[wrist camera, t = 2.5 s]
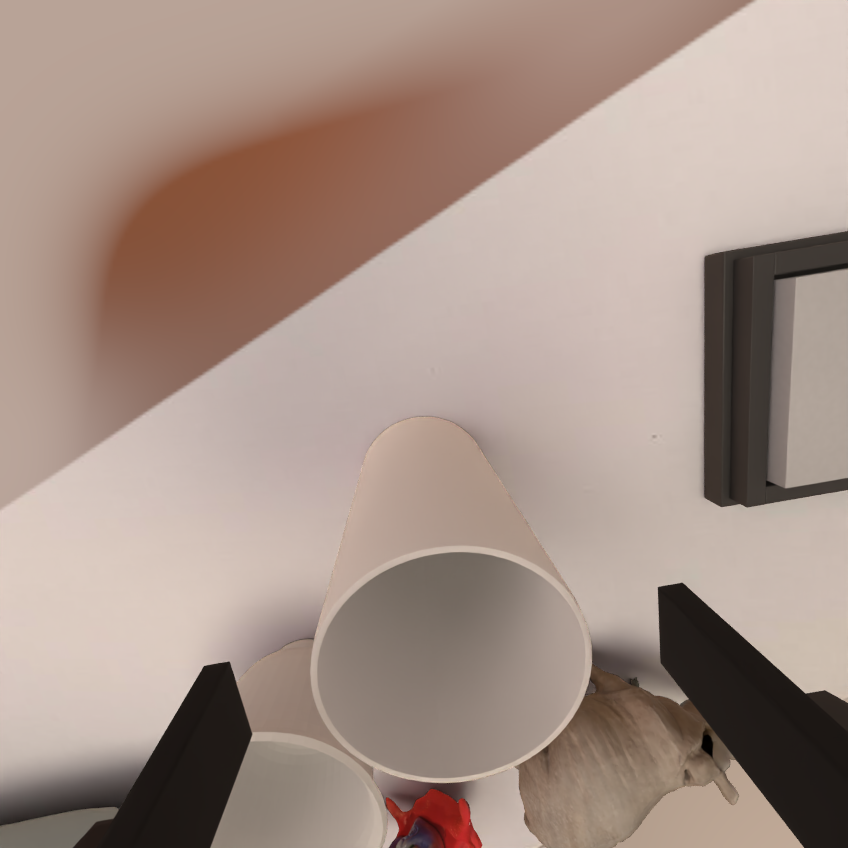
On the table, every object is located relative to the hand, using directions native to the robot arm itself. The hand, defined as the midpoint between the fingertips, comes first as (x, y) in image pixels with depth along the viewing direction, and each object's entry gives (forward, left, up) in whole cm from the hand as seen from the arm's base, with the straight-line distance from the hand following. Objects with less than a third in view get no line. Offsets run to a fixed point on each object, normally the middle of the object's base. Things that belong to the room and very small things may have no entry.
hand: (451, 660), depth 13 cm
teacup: (+14, -12, -16) cm, 24 cm away
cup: (0, 0, -16) cm, 16 cm away
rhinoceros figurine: (+19, +10, -16) cm, 26 cm away
